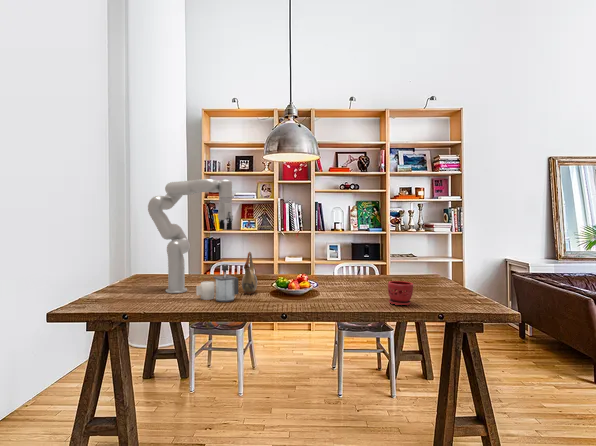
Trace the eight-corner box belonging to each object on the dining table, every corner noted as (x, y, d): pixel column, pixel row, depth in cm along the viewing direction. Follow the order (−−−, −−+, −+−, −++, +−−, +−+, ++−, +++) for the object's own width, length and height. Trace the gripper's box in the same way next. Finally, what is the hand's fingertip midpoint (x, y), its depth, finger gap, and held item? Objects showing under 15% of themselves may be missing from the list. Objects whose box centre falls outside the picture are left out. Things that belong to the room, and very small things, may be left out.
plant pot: (408, 308, 206) (409, 285, 206) (384, 305, 213) (384, 282, 213) (415, 303, 217) (416, 281, 217) (392, 300, 224) (392, 279, 224)
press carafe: (213, 299, 223) (213, 276, 223) (233, 296, 231) (233, 274, 230) (220, 302, 215) (220, 279, 215) (241, 299, 223) (241, 277, 222)
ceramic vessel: (253, 296, 232) (253, 253, 231) (238, 295, 233) (238, 253, 232) (260, 290, 248) (260, 250, 247) (246, 290, 249) (246, 250, 248)
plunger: (217, 293, 223) (217, 264, 222) (227, 292, 227) (227, 263, 226) (222, 296, 217) (222, 265, 217) (233, 294, 221) (233, 265, 221)
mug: (194, 298, 226) (194, 282, 226) (211, 296, 232) (211, 280, 232) (199, 301, 220) (199, 284, 219) (216, 298, 226) (216, 282, 225)
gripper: (213, 200, 242) (213, 229, 243) (226, 200, 229) (226, 230, 229) (224, 201, 247) (224, 228, 248) (238, 200, 233) (237, 230, 234)
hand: (225, 229), depth 238 cm, fingers open, 9 cm apart
